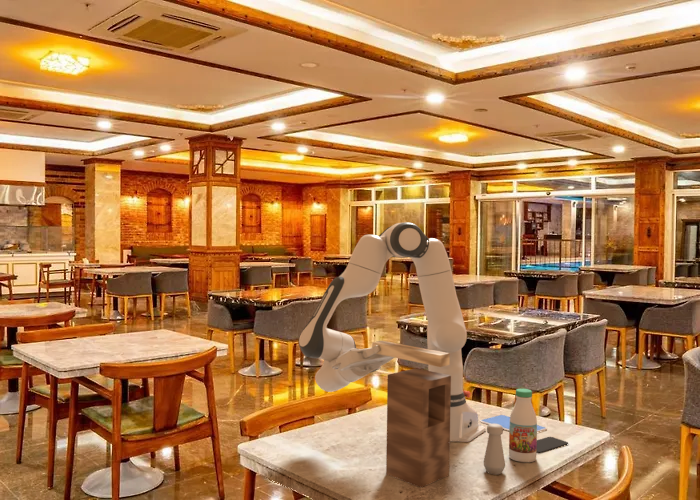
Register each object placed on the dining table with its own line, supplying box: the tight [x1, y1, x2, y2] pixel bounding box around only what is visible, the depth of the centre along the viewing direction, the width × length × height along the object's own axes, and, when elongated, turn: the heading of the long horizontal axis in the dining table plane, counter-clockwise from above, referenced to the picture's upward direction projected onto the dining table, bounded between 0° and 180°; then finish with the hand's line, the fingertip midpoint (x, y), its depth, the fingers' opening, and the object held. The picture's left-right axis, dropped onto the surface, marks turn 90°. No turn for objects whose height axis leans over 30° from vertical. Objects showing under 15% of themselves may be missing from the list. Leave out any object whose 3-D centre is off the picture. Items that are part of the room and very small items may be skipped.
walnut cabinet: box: [385, 367, 451, 488], centre depth 166 cm, size 12×12×27 cm
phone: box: [536, 436, 569, 454], centre depth 191 cm, size 7×1×15 cm
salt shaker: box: [483, 424, 506, 476], centre depth 169 cm, size 6×6×13 cm
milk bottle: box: [508, 388, 538, 463], centre depth 179 cm, size 8×8×20 cm
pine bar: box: [371, 340, 450, 367], centre depth 168 cm, size 4×24×3 cm, turn 44°
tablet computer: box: [479, 414, 548, 433], centre depth 210 cm, size 19×13×1 cm, turn 37°
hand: (385, 346), depth 174 cm, fingers closed on pine bar, 4 cm apart
